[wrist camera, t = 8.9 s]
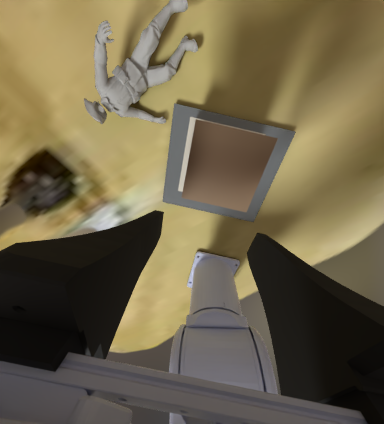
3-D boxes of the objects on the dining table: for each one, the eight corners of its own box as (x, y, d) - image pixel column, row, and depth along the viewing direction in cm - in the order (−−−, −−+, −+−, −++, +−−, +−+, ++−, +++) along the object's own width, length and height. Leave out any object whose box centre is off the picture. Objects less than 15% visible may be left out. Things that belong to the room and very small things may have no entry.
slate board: (252, 220, 21) (253, 222, 20) (163, 200, 21) (162, 201, 20) (292, 132, 16) (295, 131, 15) (175, 104, 16) (174, 103, 15)
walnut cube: (233, 192, 15) (246, 212, 10) (188, 182, 15) (181, 197, 10) (251, 142, 13) (277, 138, 8) (198, 129, 12) (195, 119, 8)
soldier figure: (208, 84, 15) (134, 159, 16) (184, 77, 18) (120, 142, 18) (177, -55, 9) (50, 82, 9) (145, -37, 11) (45, 71, 11)
